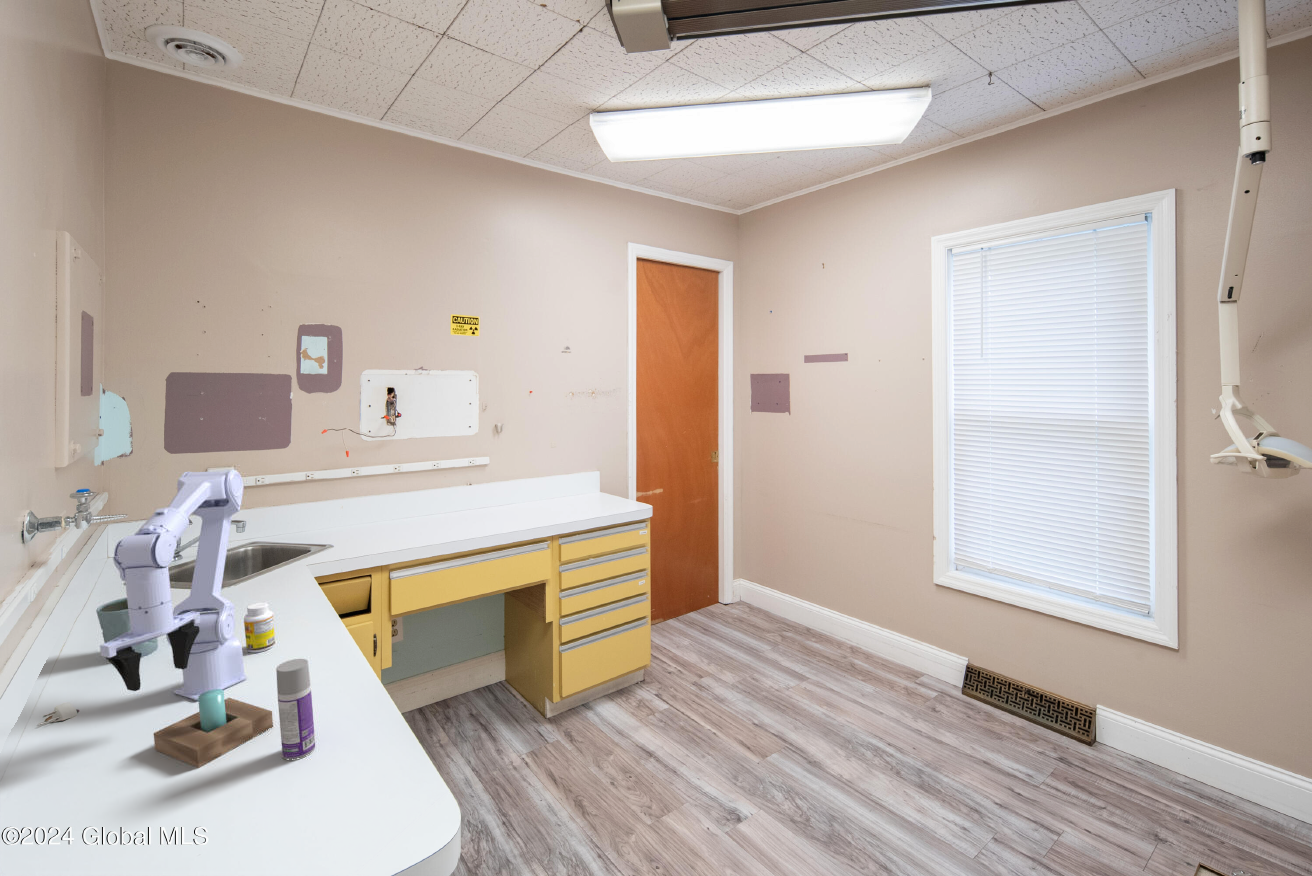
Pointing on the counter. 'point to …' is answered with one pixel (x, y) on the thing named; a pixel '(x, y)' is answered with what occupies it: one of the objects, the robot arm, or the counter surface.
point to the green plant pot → (120, 624)
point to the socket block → (212, 733)
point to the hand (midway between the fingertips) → (158, 678)
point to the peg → (212, 710)
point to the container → (295, 709)
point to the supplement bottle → (259, 628)
